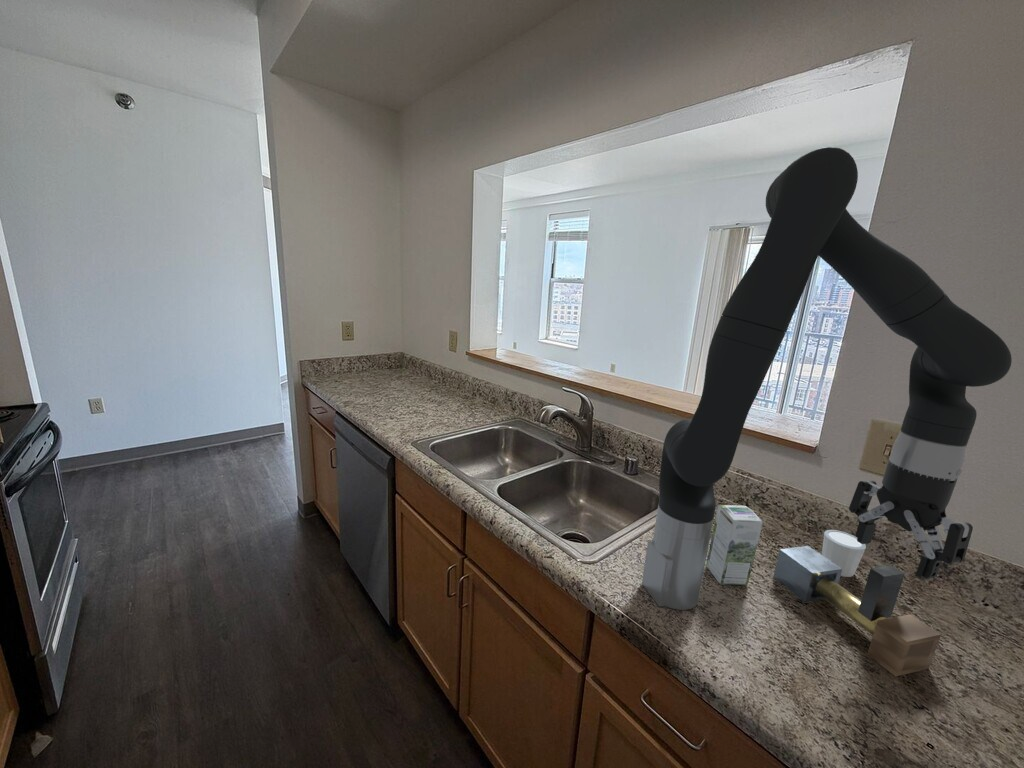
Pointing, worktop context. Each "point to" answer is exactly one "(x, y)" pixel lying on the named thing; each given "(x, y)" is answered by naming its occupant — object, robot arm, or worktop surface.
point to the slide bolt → (866, 596)
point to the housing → (804, 571)
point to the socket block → (903, 644)
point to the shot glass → (843, 550)
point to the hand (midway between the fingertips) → (891, 559)
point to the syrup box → (733, 544)
